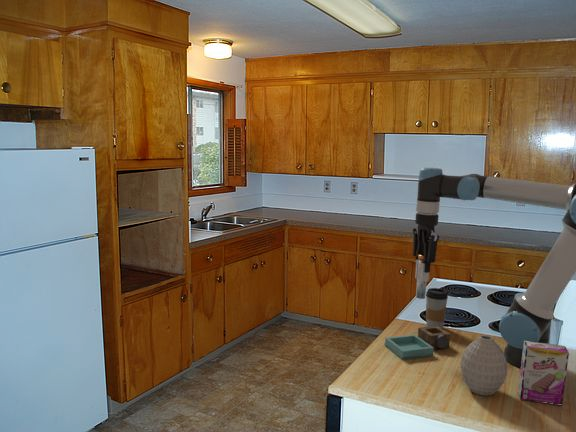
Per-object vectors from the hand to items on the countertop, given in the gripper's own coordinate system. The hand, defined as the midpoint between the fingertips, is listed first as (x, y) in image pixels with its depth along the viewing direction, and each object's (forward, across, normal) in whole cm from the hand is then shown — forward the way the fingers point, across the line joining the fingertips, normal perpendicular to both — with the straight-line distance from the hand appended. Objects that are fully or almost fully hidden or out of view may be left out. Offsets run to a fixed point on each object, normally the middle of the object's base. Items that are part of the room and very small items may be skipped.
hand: (421, 279), depth 178 cm
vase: (+25, -33, -3) cm, 41 cm away
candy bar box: (+25, -42, -16) cm, 51 cm away
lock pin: (+7, 0, 0) cm, 7 cm away
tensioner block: (+25, +1, -8) cm, 26 cm away
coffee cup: (+25, +16, -17) cm, 34 cm away
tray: (+25, -2, +4) cm, 26 cm away
